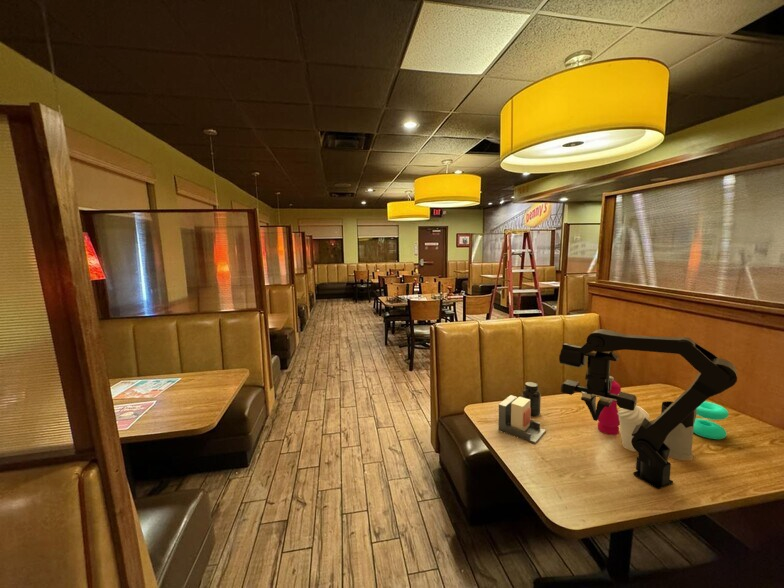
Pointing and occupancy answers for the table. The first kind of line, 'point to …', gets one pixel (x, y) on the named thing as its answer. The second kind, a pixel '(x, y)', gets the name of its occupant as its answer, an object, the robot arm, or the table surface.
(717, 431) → the donuts
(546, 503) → the table surface
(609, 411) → the pepper mill
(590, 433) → the table surface
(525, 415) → the cream block orange label
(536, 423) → the press stand
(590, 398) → the robot arm
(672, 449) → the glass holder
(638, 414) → the soft serve ice cream cone
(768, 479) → the table surface
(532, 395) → the supplement bottle
